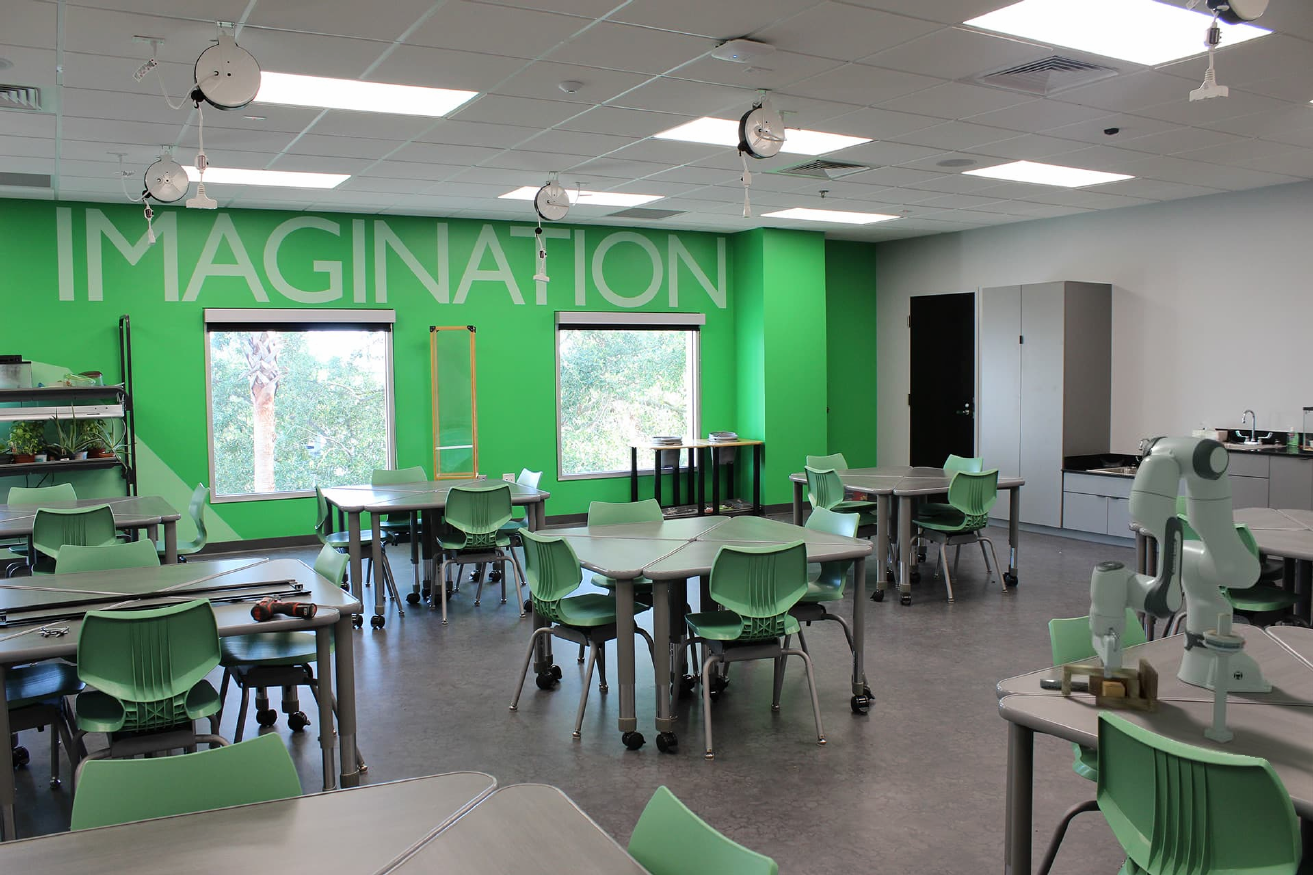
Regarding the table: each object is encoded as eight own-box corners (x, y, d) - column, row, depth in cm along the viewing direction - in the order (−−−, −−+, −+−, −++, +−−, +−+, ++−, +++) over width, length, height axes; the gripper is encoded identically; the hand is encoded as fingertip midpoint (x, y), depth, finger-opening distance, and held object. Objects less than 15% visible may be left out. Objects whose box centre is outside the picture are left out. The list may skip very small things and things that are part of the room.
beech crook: (1132, 695, 252) (1134, 666, 252) (1138, 703, 246) (1139, 673, 246) (1059, 690, 257) (1060, 661, 256) (1063, 697, 251) (1064, 668, 250)
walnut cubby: (1144, 695, 255) (1145, 658, 254) (1156, 712, 242) (1158, 674, 241) (1087, 690, 258) (1089, 654, 257) (1097, 707, 246) (1098, 669, 245)
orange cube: (1120, 698, 252) (1120, 682, 252) (1124, 704, 248) (1124, 687, 248) (1101, 697, 253) (1102, 680, 253) (1105, 703, 249) (1106, 686, 249)
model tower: (1212, 728, 231) (1217, 608, 229) (1246, 740, 224) (1253, 616, 222) (1190, 735, 227) (1196, 612, 225) (1225, 747, 220) (1231, 620, 218)
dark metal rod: (1086, 688, 260) (1087, 680, 259) (1088, 693, 258) (1088, 685, 257) (1039, 684, 263) (1040, 677, 262) (1041, 689, 261) (1041, 682, 260)
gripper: (1130, 635, 239) (1127, 688, 240) (1112, 614, 259) (1110, 664, 260) (1102, 633, 240) (1100, 686, 241) (1087, 613, 260) (1085, 662, 261)
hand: (1105, 674), depth 251 cm, fingers closed on beech crook
